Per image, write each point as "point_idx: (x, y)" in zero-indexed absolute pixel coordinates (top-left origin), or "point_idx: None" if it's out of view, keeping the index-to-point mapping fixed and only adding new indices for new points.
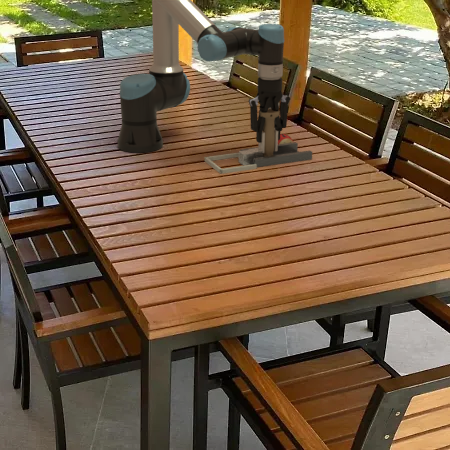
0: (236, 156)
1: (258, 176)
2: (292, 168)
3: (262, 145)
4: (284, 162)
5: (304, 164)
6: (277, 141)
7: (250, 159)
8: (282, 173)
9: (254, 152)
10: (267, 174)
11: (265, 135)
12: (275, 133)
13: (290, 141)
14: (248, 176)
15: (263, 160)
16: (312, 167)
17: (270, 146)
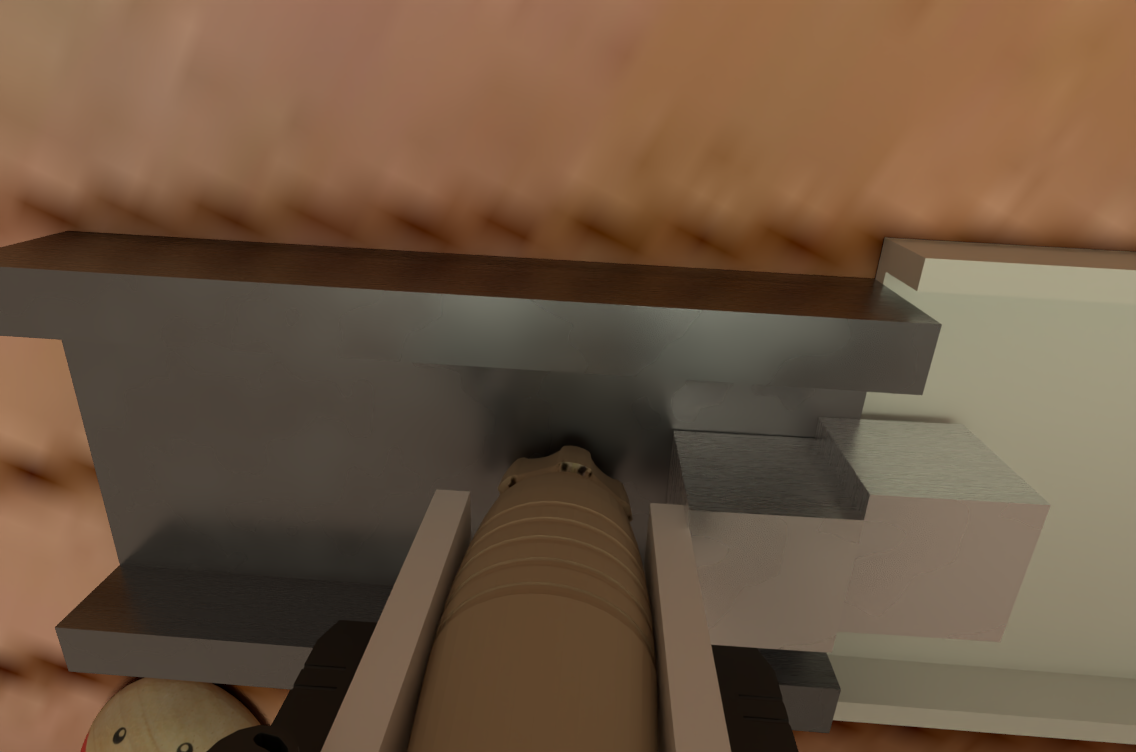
0: (845, 675)
1: (990, 49)
2: (393, 134)
3: (696, 583)
4: (445, 264)
5: (183, 203)
6: (401, 586)
7: (887, 451)
8: (619, 5)
9: (836, 516)
10: (828, 68)
11: (642, 734)
12: (394, 731)
13: (111, 749)
14: (1104, 116)
15: (787, 307)
16: (118, 43)
17: (562, 530)
